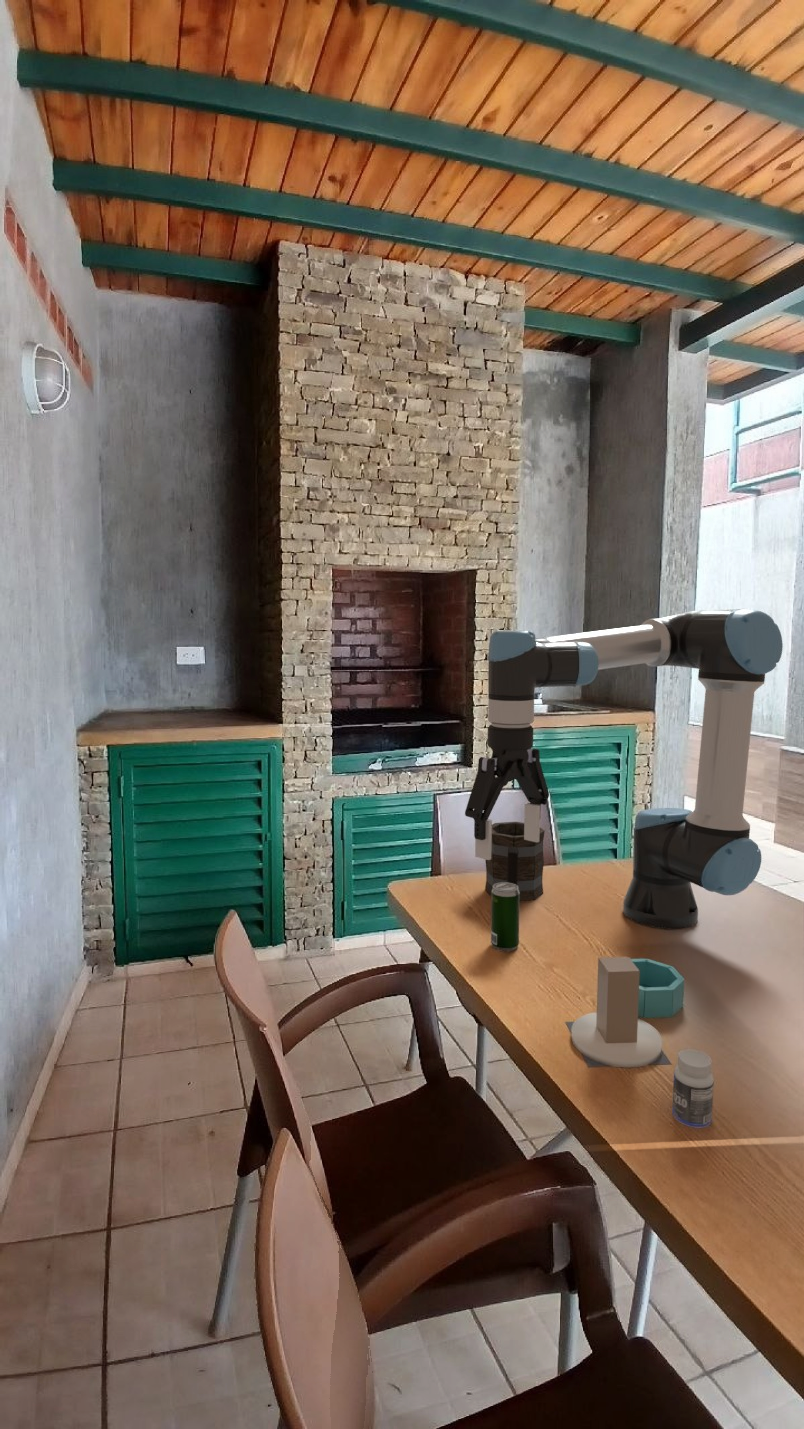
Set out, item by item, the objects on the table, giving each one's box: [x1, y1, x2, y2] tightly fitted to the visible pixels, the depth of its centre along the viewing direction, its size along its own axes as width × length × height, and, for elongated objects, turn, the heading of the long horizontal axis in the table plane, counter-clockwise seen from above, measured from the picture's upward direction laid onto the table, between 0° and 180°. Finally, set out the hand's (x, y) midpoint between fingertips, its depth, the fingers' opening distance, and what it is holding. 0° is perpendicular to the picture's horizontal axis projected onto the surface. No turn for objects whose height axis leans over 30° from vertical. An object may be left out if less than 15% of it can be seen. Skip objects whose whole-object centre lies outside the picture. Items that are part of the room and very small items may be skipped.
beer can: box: [490, 882, 520, 952], centre depth 146 cm, size 5×5×12 cm
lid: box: [570, 956, 663, 1069], centre depth 112 cm, size 13×13×12 cm
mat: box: [565, 1021, 673, 1068], centre depth 113 cm, size 12×12×1 cm
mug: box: [484, 821, 546, 903], centre depth 172 cm, size 20×14×15 cm
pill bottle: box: [671, 1048, 715, 1129], centre depth 95 cm, size 5×5×8 cm
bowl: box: [630, 958, 685, 1019], centre depth 125 cm, size 11×11×5 cm
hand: (508, 849), depth 127 cm, fingers open, 13 cm apart
